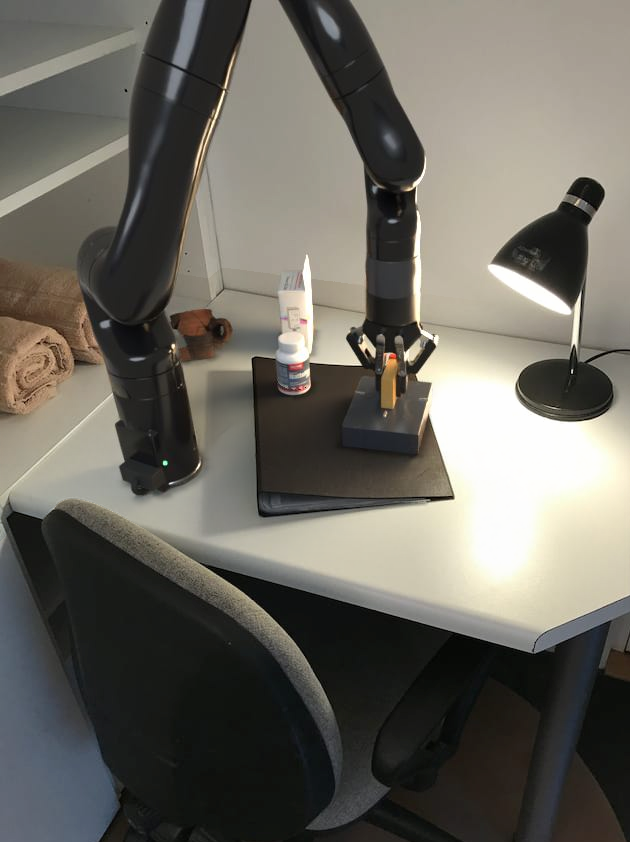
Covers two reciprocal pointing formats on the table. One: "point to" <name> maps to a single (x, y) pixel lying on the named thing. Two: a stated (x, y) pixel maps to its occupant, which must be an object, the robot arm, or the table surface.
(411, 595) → the table surface
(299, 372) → the pill bottle
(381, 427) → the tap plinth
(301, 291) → the ink cartridge box
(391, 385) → the tap lever
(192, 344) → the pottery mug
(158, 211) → the robot arm
